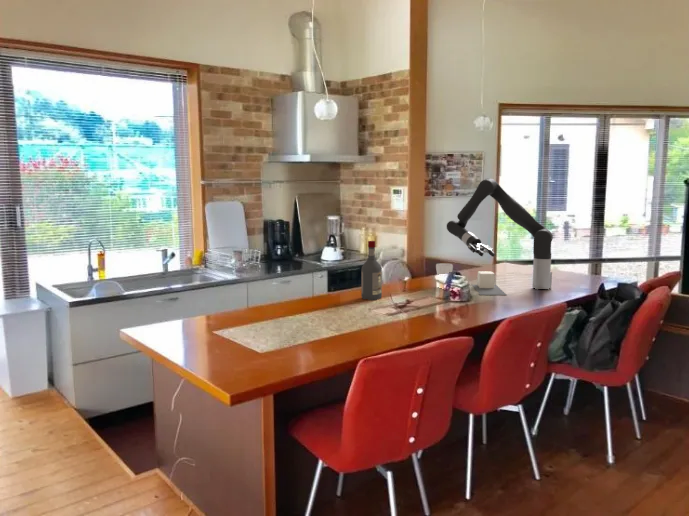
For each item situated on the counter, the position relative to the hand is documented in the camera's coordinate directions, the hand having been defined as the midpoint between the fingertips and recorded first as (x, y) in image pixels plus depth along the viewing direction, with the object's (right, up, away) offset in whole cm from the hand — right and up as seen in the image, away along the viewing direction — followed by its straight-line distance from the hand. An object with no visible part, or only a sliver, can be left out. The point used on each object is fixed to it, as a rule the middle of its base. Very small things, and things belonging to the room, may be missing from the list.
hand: (488, 255), depth 325 cm
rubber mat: (0, -20, -1) cm, 20 cm away
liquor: (-66, -23, -20) cm, 73 cm away
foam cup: (-23, -19, +8) cm, 31 cm away
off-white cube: (0, -18, +6) cm, 19 cm away
